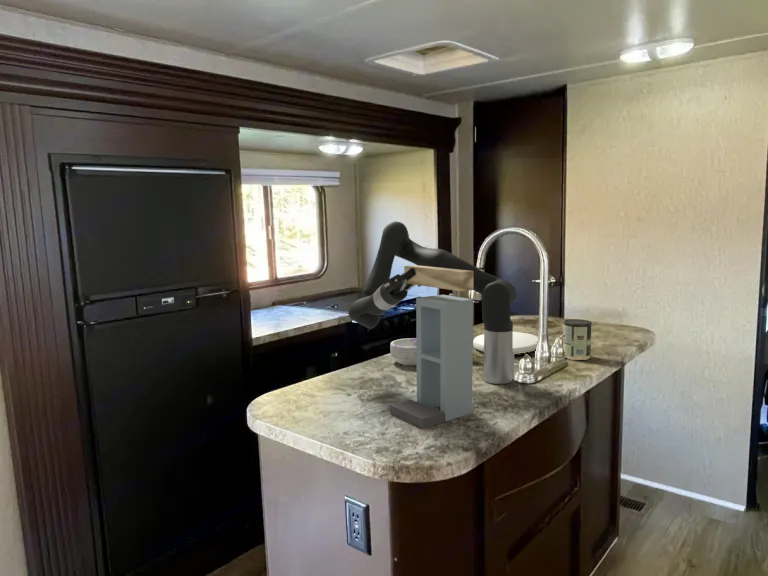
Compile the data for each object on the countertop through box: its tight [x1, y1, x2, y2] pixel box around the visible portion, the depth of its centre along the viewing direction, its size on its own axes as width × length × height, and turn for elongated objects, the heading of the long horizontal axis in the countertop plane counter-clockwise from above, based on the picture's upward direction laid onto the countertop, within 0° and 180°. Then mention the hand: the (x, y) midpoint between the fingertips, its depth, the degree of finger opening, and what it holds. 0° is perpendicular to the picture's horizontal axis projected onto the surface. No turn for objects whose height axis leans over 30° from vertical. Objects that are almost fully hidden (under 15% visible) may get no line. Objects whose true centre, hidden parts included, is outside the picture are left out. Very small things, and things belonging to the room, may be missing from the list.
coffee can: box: [562, 318, 593, 357], centre depth 214 cm, size 10×10×14 cm
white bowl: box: [389, 337, 417, 367], centre depth 210 cm, size 15×15×8 cm
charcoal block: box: [389, 399, 445, 429], centre depth 153 cm, size 8×14×2 cm, turn 36°
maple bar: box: [403, 264, 474, 292], centre depth 155 cm, size 4×24×5 cm, turn 36°
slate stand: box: [415, 294, 474, 422], centre depth 156 cm, size 10×12×32 cm
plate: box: [473, 331, 539, 353], centre depth 229 cm, size 28×6×27 cm
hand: (420, 270), depth 161 cm, fingers closed on maple bar, 4 cm apart
